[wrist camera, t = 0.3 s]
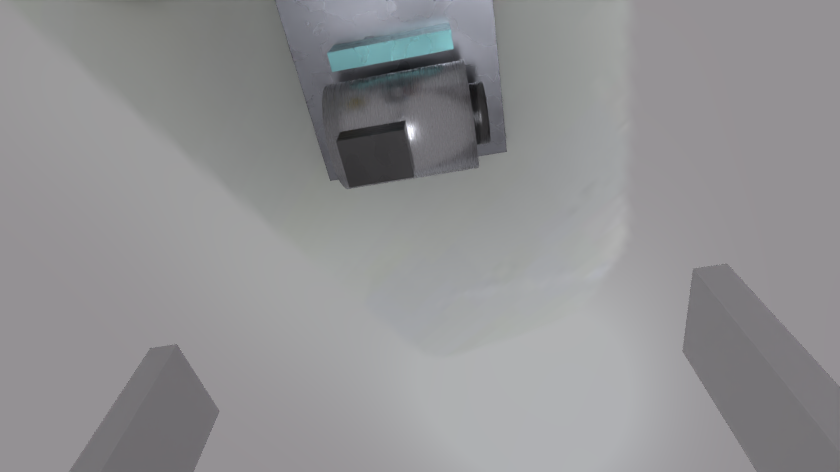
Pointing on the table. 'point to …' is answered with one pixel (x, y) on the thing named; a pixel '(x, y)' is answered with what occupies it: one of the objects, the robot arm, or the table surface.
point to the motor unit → (398, 84)
